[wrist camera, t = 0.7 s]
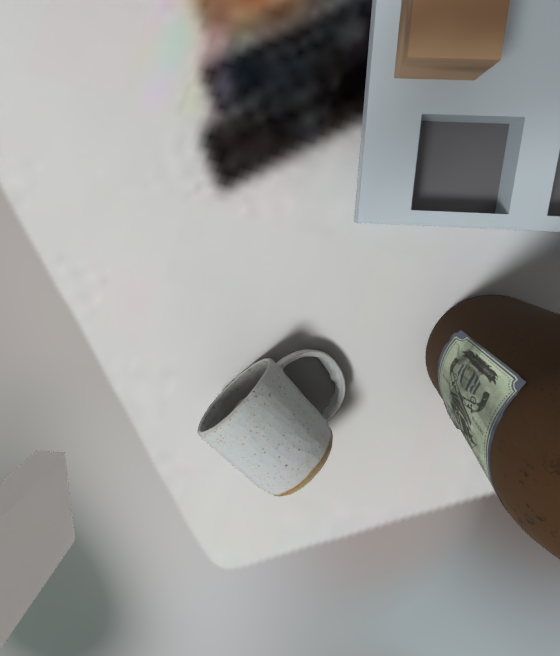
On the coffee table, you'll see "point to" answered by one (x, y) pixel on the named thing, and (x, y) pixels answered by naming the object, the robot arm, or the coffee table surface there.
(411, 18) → the brown block
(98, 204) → the coffee table surface
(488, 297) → the olive oil
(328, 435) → the ceramic mug
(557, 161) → the board
